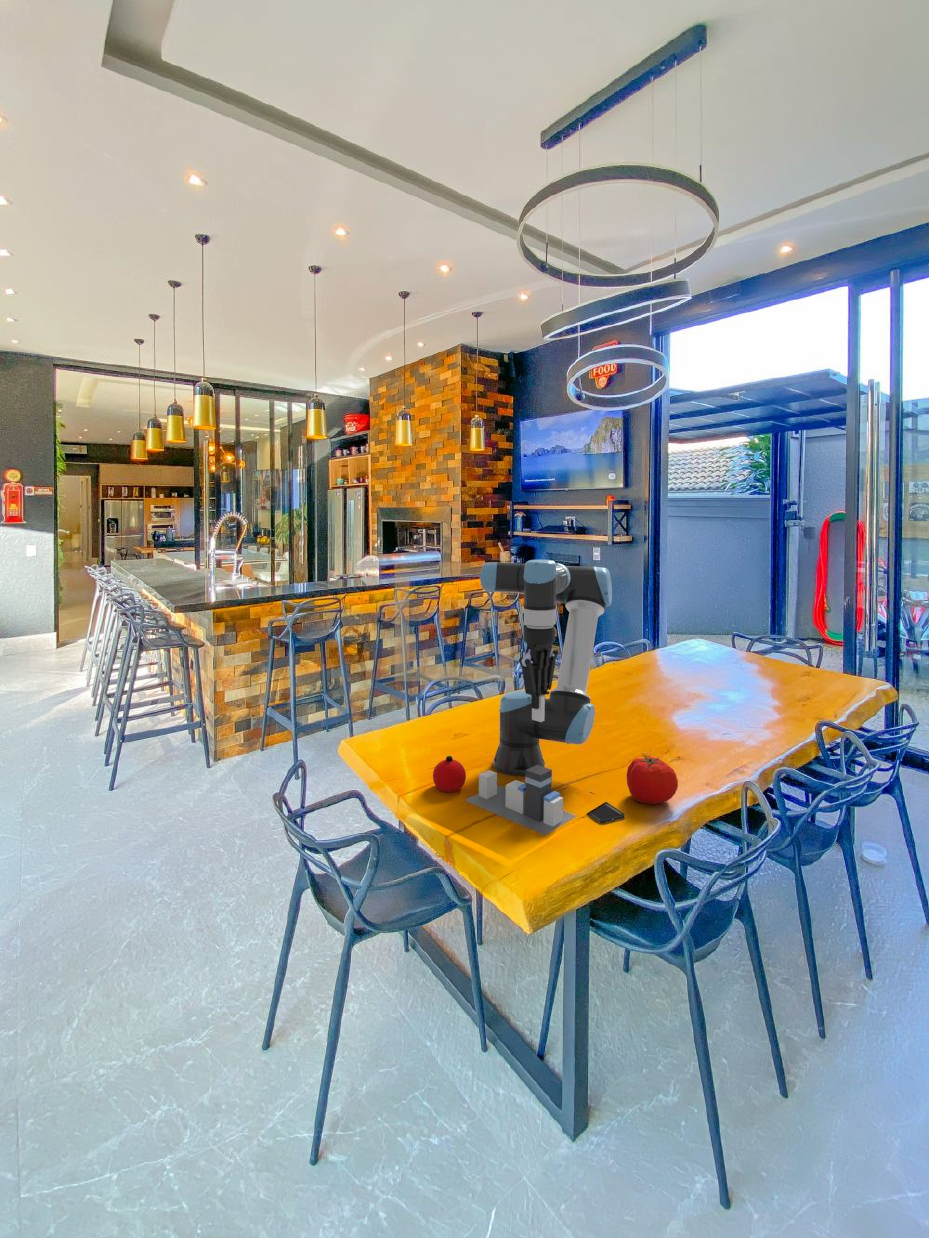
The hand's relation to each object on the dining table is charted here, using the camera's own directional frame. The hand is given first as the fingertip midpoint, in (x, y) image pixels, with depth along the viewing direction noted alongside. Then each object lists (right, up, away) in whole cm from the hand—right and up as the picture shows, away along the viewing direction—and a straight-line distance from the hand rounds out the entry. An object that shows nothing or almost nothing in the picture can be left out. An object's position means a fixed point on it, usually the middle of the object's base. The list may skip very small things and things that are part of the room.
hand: (538, 719), depth 156 cm
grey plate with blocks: (-4, -24, +6) cm, 25 cm away
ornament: (-22, -22, +18) cm, 36 cm away
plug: (0, -24, +2) cm, 24 cm away
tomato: (+31, -23, +13) cm, 41 cm away
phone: (+16, -25, +8) cm, 30 cm away
